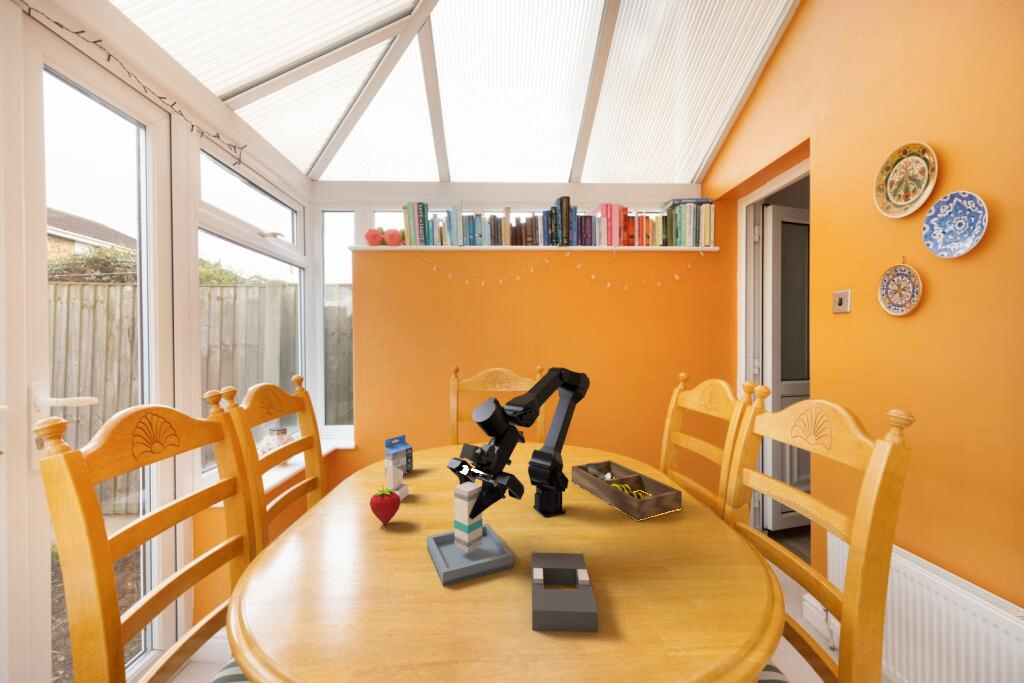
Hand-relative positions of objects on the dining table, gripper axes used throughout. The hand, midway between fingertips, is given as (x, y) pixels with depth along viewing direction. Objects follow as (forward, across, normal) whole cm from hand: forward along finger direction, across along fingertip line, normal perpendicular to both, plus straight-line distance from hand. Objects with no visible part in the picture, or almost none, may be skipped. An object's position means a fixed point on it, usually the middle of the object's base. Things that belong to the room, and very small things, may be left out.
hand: (463, 515), depth 77 cm
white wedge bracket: (0, -37, +13) cm, 39 cm away
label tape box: (-7, -54, +21) cm, 59 cm away
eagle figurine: (-31, +2, +45) cm, 54 cm away
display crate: (-30, +10, +43) cm, 53 cm away
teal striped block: (+4, 0, +6) cm, 7 cm away
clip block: (+4, +21, +9) cm, 23 cm away
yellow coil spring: (-26, +14, +40) cm, 49 cm away
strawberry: (+8, -26, +5) cm, 28 cm away
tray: (+6, 0, +7) cm, 9 cm away
